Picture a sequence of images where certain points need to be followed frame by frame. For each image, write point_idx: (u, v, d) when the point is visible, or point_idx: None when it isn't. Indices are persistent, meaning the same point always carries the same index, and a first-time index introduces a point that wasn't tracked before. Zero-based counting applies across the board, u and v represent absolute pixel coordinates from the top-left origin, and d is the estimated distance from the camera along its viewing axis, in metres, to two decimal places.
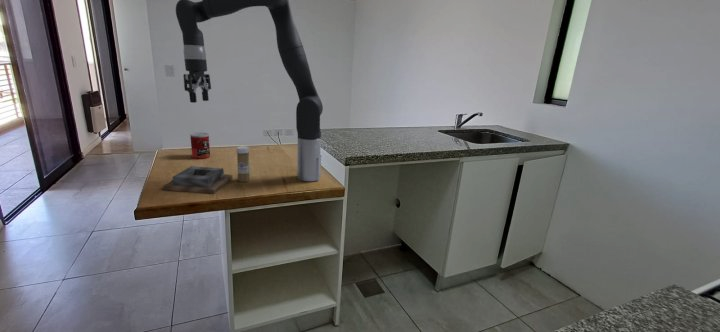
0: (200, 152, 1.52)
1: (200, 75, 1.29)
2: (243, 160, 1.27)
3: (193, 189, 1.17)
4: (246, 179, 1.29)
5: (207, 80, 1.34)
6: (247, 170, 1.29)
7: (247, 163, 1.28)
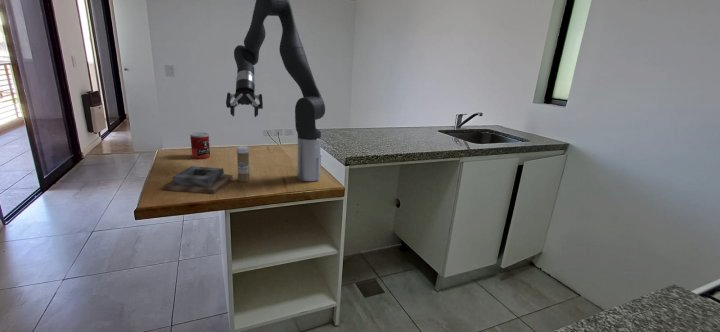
0: (200, 152, 1.52)
1: (245, 94, 1.38)
2: (243, 160, 1.27)
3: (193, 189, 1.17)
4: (246, 179, 1.29)
5: (259, 99, 1.39)
6: (247, 170, 1.29)
7: (247, 163, 1.28)
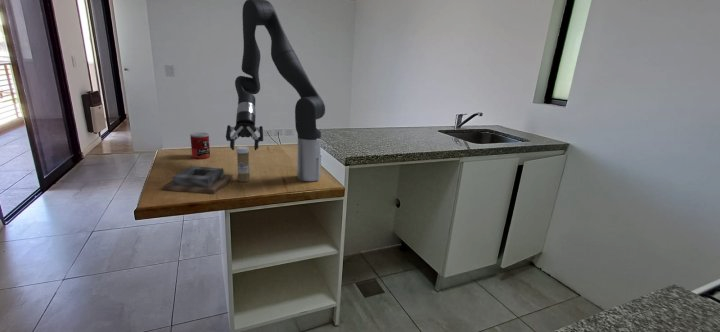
0: (200, 152, 1.52)
1: (246, 126, 1.36)
2: (243, 160, 1.27)
3: (193, 189, 1.17)
4: (246, 179, 1.29)
5: (259, 131, 1.37)
6: (247, 170, 1.29)
7: (247, 163, 1.28)
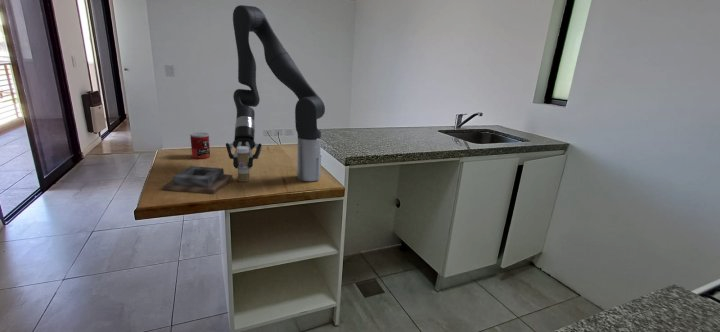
0: (200, 152, 1.52)
1: (245, 141, 1.32)
2: (243, 160, 1.27)
3: (193, 189, 1.17)
4: (246, 179, 1.29)
5: (257, 148, 1.32)
6: (247, 170, 1.29)
7: (247, 163, 1.28)
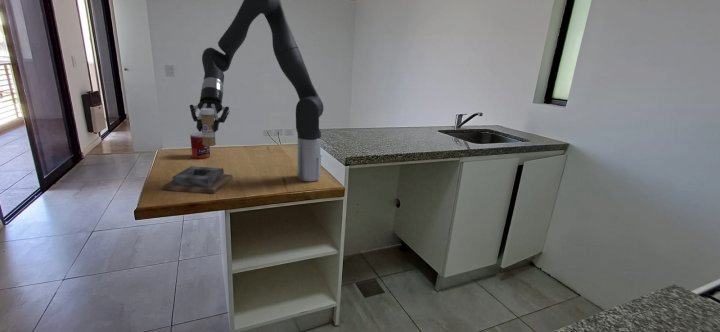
0: (200, 152, 1.52)
1: (211, 104, 1.23)
2: (207, 122, 1.18)
3: (193, 189, 1.17)
4: (211, 143, 1.21)
5: None
6: (212, 134, 1.20)
7: (212, 126, 1.20)
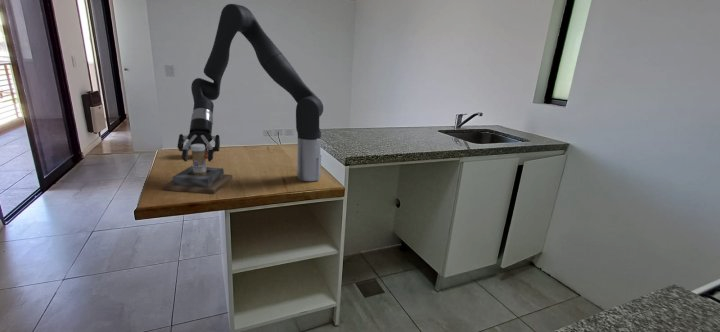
0: None
1: (200, 135, 1.24)
2: (198, 158, 1.20)
3: (193, 189, 1.17)
4: None
5: (215, 140, 1.25)
6: (203, 169, 1.22)
7: (203, 162, 1.21)
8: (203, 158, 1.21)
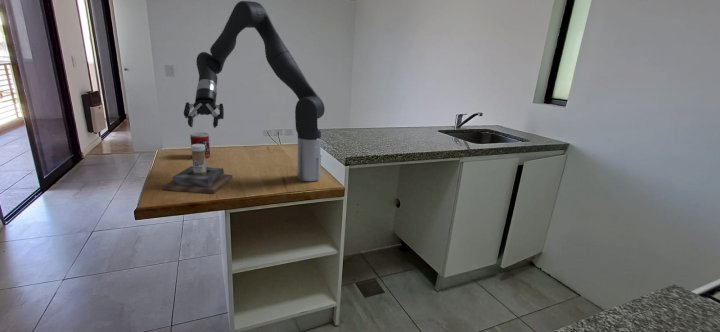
0: None
1: (205, 103, 1.33)
2: (198, 158, 1.20)
3: (193, 189, 1.17)
4: None
5: (219, 109, 1.34)
6: (203, 169, 1.22)
7: (203, 162, 1.21)
8: (203, 158, 1.21)
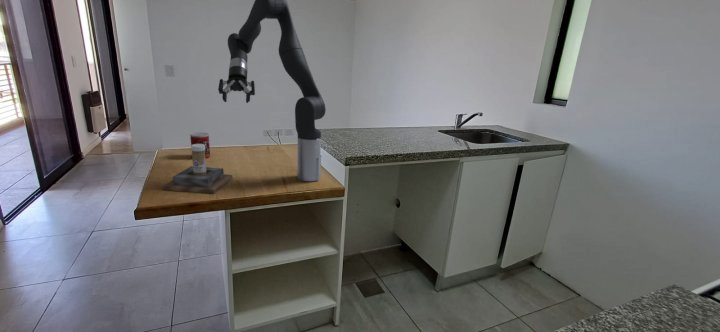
0: None
1: (238, 80, 1.40)
2: (198, 158, 1.20)
3: (193, 189, 1.17)
4: None
5: (251, 85, 1.41)
6: (203, 169, 1.22)
7: (203, 162, 1.21)
8: (203, 158, 1.21)
